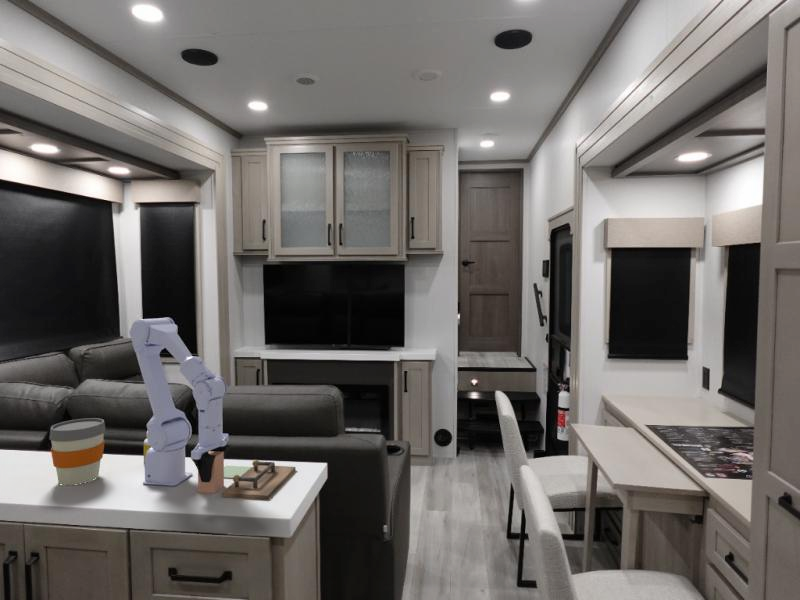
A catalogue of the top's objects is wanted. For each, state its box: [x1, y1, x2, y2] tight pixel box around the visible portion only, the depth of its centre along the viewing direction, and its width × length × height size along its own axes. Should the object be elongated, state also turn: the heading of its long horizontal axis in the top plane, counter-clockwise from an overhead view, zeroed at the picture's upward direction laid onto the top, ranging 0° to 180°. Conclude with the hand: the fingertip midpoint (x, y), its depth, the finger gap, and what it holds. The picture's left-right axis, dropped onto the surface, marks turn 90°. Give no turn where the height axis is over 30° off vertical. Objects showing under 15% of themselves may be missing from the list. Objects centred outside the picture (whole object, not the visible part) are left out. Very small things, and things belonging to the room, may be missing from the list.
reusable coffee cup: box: [49, 417, 106, 486], centre depth 128 cm, size 13×13×15 cm
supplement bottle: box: [143, 430, 151, 467], centre depth 139 cm, size 5×5×10 cm
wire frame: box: [220, 459, 296, 501], centre depth 126 cm, size 12×19×4 cm, turn 172°
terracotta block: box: [197, 451, 225, 494], centre depth 122 cm, size 4×4×9 cm
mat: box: [224, 465, 253, 480], centre depth 133 cm, size 8×8×1 cm
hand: (211, 477), depth 122 cm, fingers closed on terracotta block, 4 cm apart
